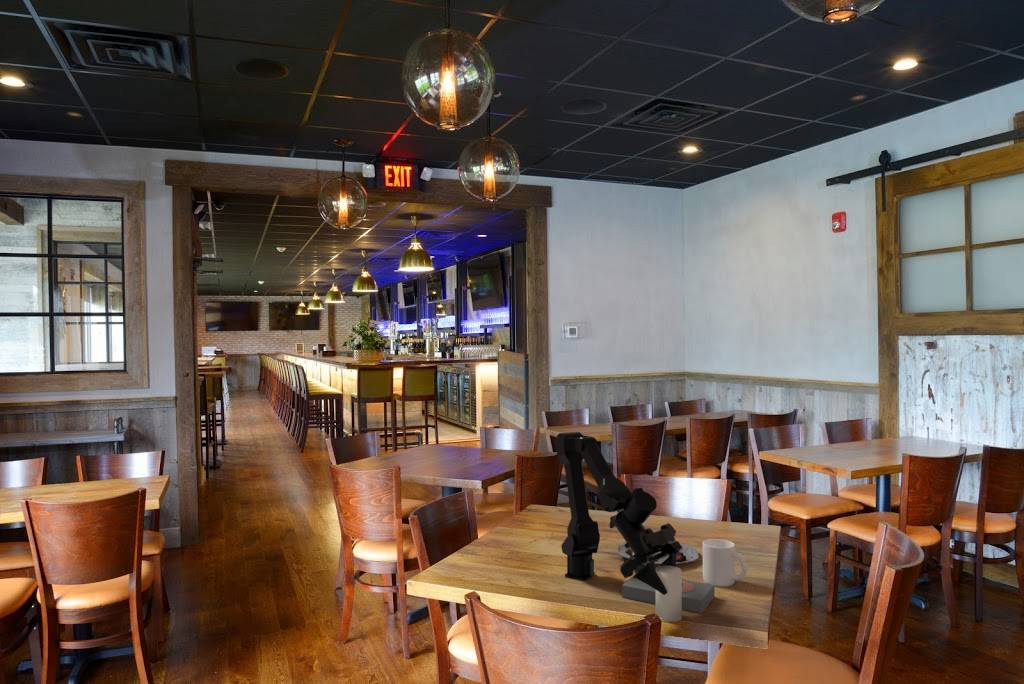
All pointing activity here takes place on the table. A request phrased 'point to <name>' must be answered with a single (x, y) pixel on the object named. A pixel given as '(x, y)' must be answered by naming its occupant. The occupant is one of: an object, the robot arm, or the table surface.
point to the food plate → (680, 558)
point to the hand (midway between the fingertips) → (673, 590)
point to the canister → (669, 594)
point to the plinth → (692, 593)
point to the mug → (721, 563)
